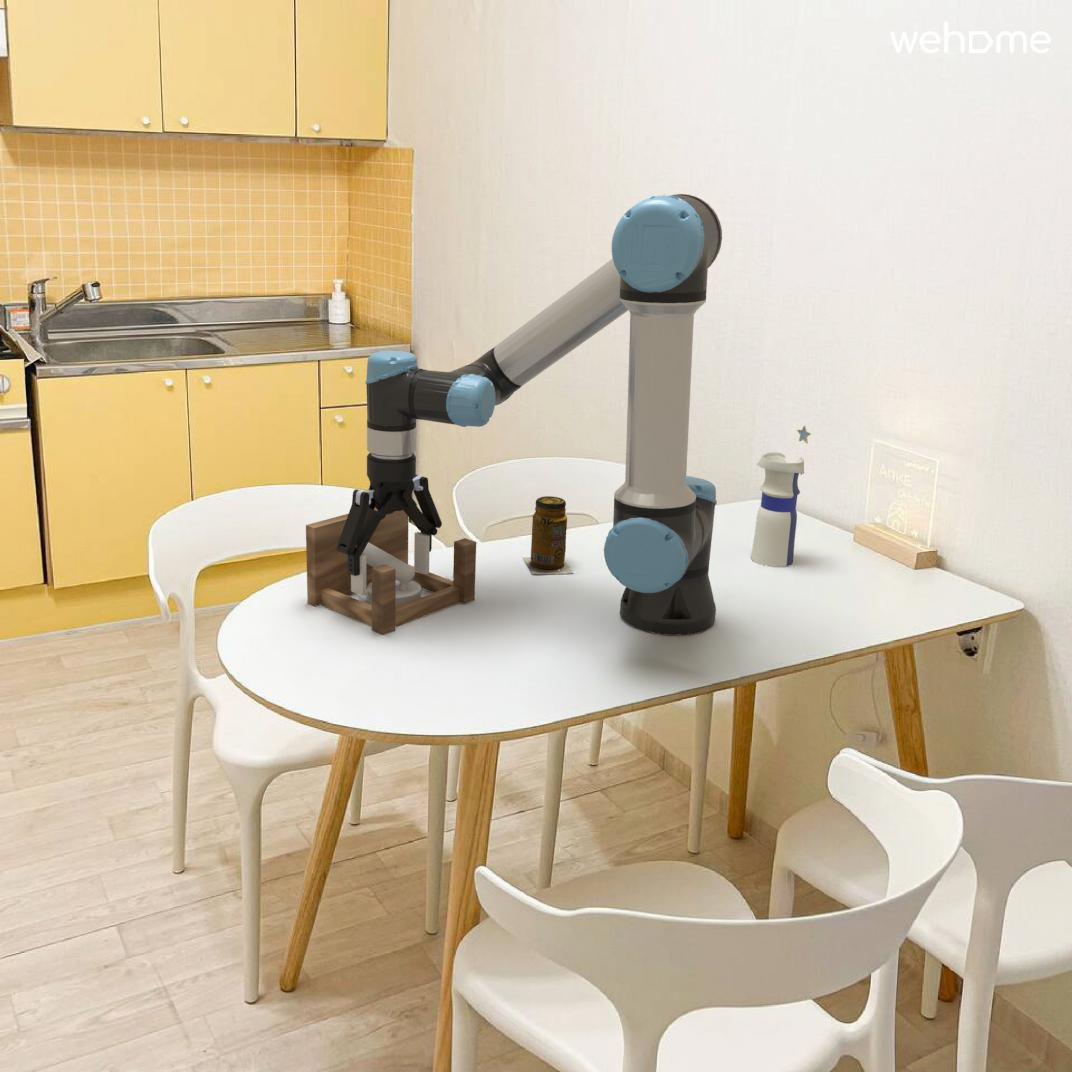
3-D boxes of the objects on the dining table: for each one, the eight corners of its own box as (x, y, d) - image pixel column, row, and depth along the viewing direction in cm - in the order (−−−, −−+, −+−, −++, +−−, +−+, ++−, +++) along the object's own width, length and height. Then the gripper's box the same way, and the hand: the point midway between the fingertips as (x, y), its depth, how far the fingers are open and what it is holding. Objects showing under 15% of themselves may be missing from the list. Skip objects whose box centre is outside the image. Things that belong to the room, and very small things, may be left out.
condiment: (562, 557, 208) (565, 493, 205) (573, 574, 201) (577, 508, 197) (522, 558, 207) (525, 494, 203) (532, 575, 199) (535, 509, 195)
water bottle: (759, 548, 218) (774, 418, 210) (801, 558, 213) (818, 426, 205) (739, 559, 211) (754, 426, 203) (783, 570, 207) (799, 434, 199)
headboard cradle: (474, 600, 187) (476, 524, 183) (383, 635, 173) (383, 553, 168) (399, 572, 198) (400, 499, 193) (307, 602, 183) (305, 525, 179)
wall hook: (369, 533, 187) (428, 540, 185) (369, 589, 190) (427, 596, 188) (350, 550, 179) (411, 557, 177) (350, 607, 182) (411, 615, 180)
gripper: (431, 435, 189) (430, 557, 196) (311, 462, 170) (314, 596, 177) (465, 444, 184) (462, 569, 191) (345, 473, 166) (346, 609, 173)
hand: (391, 582), depth 184 cm, fingers open, 13 cm apart
